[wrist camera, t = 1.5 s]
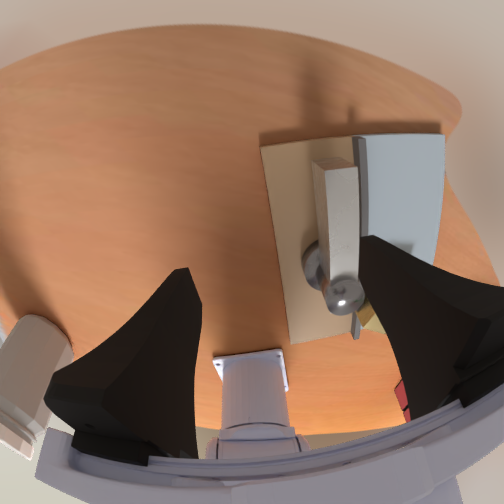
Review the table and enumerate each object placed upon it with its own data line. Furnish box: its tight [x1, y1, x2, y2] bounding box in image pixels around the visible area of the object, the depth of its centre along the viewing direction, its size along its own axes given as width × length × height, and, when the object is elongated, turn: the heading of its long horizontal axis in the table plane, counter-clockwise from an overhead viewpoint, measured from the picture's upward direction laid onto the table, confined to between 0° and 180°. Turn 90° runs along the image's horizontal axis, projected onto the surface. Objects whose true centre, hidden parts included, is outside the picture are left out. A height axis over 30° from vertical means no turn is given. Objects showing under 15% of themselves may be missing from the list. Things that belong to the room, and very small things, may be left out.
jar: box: [0, 314, 74, 460], centre depth 20 cm, size 10×10×18 cm
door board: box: [260, 133, 445, 344], centre depth 22 cm, size 20×16×2 cm
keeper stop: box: [355, 295, 386, 334], centre depth 24 cm, size 3×2×3 cm, turn 65°
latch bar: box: [311, 157, 365, 316], centre depth 18 cm, size 10×3×4 cm, turn 10°
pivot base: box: [301, 240, 321, 291], centre depth 22 cm, size 4×4×2 cm
